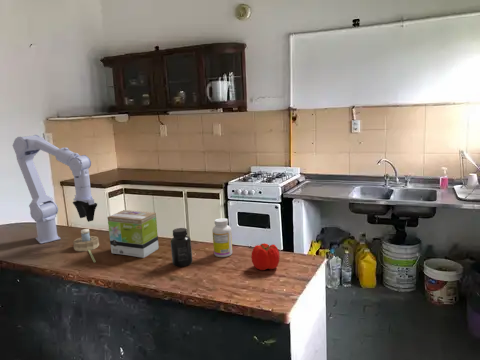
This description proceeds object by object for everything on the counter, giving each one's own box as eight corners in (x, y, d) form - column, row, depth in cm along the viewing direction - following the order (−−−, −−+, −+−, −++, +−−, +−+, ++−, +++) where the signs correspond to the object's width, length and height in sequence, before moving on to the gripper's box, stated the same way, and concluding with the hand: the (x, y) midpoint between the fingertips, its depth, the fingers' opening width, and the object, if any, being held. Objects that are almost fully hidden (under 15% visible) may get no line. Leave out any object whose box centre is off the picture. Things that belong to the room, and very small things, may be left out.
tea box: (110, 254, 151) (106, 216, 149) (127, 245, 161) (123, 209, 158) (144, 258, 146) (140, 218, 143) (159, 249, 155) (156, 211, 152)
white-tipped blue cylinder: (89, 245, 163) (87, 228, 162) (92, 247, 161) (90, 230, 159) (81, 247, 161) (79, 230, 160) (84, 249, 159) (82, 231, 157)
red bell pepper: (247, 267, 133) (246, 245, 132) (267, 260, 139) (266, 239, 137) (265, 276, 126) (264, 253, 125) (286, 268, 131) (286, 246, 130)
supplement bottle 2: (221, 249, 151) (219, 216, 148) (236, 252, 147) (234, 218, 145) (210, 255, 145) (207, 221, 143) (225, 259, 142) (223, 223, 139)
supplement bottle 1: (195, 260, 141) (193, 227, 139) (187, 268, 135) (184, 233, 133) (178, 258, 144) (175, 226, 142) (168, 266, 137) (165, 232, 135)
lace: (88, 251, 156) (87, 250, 156) (89, 250, 157) (89, 249, 156) (93, 262, 144) (93, 261, 144) (95, 262, 144) (95, 261, 144)
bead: (71, 247, 162) (70, 239, 161) (94, 241, 167) (93, 234, 166) (78, 253, 155) (77, 245, 154) (102, 247, 160) (101, 239, 159)
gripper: (65, 185, 165) (69, 218, 167) (79, 190, 154) (84, 224, 157) (83, 182, 169) (86, 214, 172) (97, 187, 159) (101, 220, 161)
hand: (86, 219), depth 165 cm, fingers open, 7 cm apart
